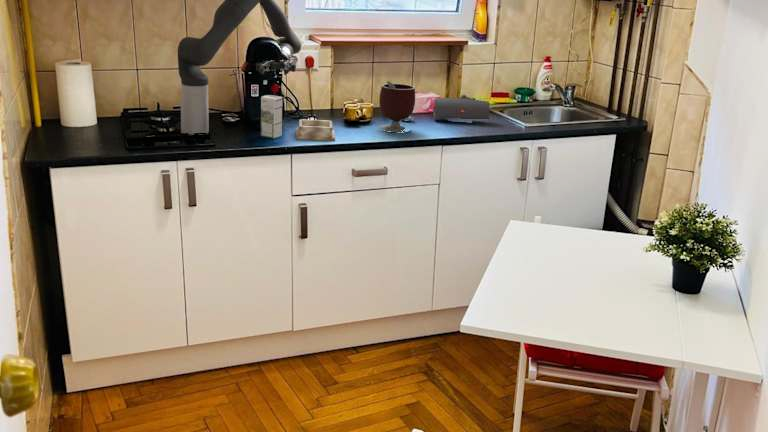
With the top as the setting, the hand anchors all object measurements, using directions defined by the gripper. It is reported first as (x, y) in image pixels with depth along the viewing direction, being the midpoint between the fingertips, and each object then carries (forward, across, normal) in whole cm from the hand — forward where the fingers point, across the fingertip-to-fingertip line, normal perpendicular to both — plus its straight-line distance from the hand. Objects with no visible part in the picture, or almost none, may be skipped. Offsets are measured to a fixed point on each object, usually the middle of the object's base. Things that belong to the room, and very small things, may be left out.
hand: (273, 72), depth 280 cm
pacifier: (-32, +48, +31) cm, 65 cm away
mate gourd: (-12, +44, +27) cm, 53 cm away
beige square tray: (+6, +15, +22) cm, 27 cm away
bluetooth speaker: (-37, +71, +33) cm, 87 cm away
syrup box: (+12, 0, +20) cm, 24 cm away
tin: (-26, +28, +29) cm, 48 cm away
